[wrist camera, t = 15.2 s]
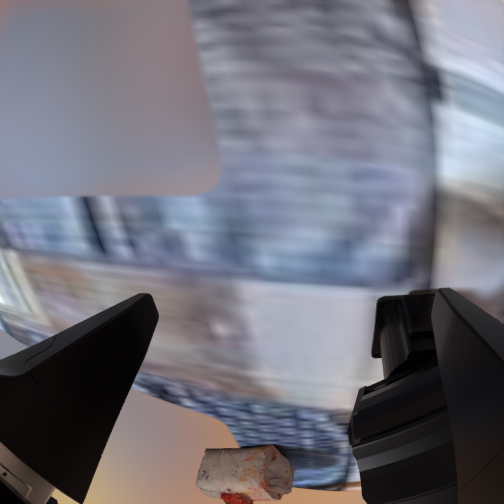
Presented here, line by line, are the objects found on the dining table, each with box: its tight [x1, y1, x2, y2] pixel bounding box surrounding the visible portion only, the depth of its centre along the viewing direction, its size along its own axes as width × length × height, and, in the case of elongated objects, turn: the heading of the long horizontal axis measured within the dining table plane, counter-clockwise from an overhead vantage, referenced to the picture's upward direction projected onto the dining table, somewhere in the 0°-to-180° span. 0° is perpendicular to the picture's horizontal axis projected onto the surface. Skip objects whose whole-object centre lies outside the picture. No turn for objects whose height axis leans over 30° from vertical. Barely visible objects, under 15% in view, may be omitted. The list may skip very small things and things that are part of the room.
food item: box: [196, 445, 295, 504], centre depth 35 cm, size 14×8×10 cm, turn 123°
